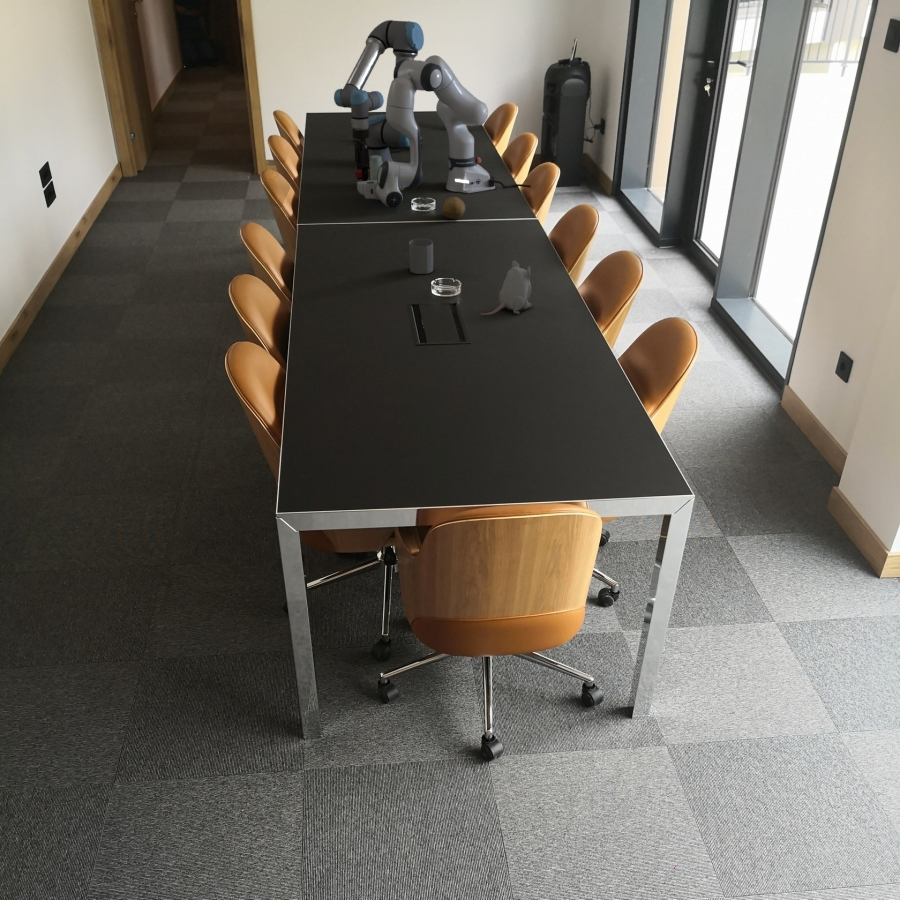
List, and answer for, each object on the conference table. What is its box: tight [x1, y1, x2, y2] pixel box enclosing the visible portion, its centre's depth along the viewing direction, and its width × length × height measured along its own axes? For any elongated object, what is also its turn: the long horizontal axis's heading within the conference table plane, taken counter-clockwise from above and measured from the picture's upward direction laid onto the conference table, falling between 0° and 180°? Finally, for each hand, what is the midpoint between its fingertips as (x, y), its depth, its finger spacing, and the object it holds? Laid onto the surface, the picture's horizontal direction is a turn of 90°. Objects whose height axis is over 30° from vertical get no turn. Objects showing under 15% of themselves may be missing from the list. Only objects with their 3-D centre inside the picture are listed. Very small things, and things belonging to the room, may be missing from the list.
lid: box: [354, 169, 370, 178], centre depth 394 cm, size 6×6×2 cm
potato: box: [441, 196, 466, 220], centre depth 355 cm, size 10×14×8 cm
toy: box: [481, 259, 533, 316], centre depth 272 cm, size 9×24×15 cm, turn 137°
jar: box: [369, 155, 383, 181], centre depth 380 cm, size 6×6×17 cm
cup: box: [408, 237, 434, 275], centre depth 305 cm, size 8×8×10 cm
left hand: (362, 180), depth 396 cm, fingers closed on lid, 6 cm apart
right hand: (376, 180), depth 381 cm, fingers closed on jar, 5 cm apart
